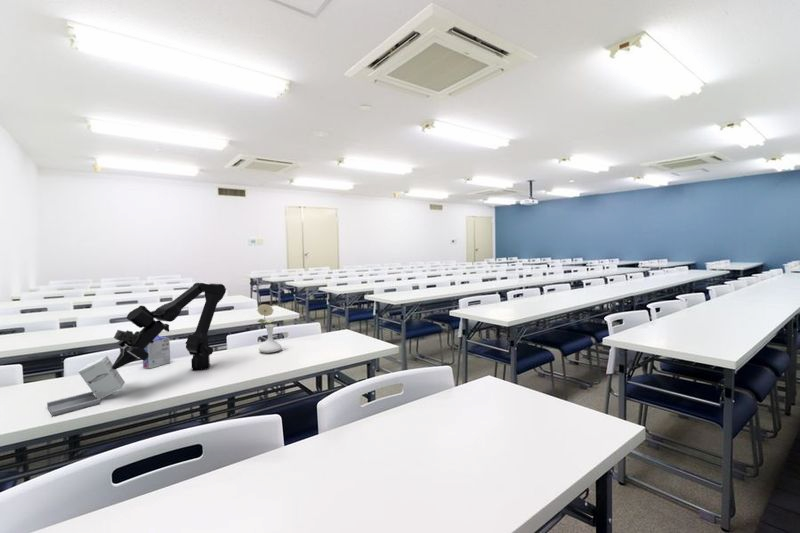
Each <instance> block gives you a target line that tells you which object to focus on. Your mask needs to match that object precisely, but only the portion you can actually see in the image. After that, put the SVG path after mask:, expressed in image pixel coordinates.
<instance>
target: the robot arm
mask: <svg viewBox="0 0 800 533" xmlns="http://www.w3.org/2000/svg"><path fill="white" fill-rule="evenodd" d="M226 291H227V288H226V286H225V285H224V284H222V283H205V282H195V283H193V285H192V286H191V287H189V288H188V289H186V290H185V291H184V292H183V293H182V294H180V295H179V296H177V297H176V298H175V299H174V300H172V301H170V302H167V303H165V304H162V305H161V306H158V307H157V308H156V309H155V310H152V311H150V310H149V308H147V307H146V306H145V305H139V306H138V307H137V308H134V309H132V310H131V311H130V312H129V313H128V314H127V315H126V319H127V320H128V321H129V322H131V323H132V324H134V325H135V326H136V327H138V328H140V329H141V330H140V331H137V330H136V331H135V332H134V333H133V331H130V330H128V329H127V330H126V331H124V330H122V329H121V330H120V329H117V331H116V332H115V334H114V336H113V339H114V340H117V342H116V344H117V345H118V346H119V355H118V357H117V358H116V359H115V361H114V363H112V364H113V366H112V369H114V370H115V369H116V370H118V369H119V368H122V367H124V366H126V365H128V364H130V363H132V362H134V361H137V360H139V359H141V360H142V361H143V360H144V361H145V360H146V359H147V358H148V357H149V353H147V352H146V351H145V350H144V349H145V348H146V347H147V346H148V345H149V344H150V343H153V342H154V341H153V340H154V339H155V338H156V337H157V336H158V335H159V336H160V334H161V333H162V332H163V331H165V332H167V333H168V332H170V324H168V323H164V322H169V323H170V322H174V321H175V320H176V319H177V318H178V316H179V315H180V314H181V312H182V310H183V309H184V308H185V307H186V306H188V305H189V304H190V303H191V302H192V301H194V300H195V299H196V298H197V297H198V296H200V295H201V294H202V293H204V298H205V302H204V305H203V309H202V311H201V315H200V317H199V320H198V323H197V325H196V328H195V331H194V332H193V333H192V334H188V336H187V339H186V341H185V348H186V350H187V351H188V353H189V355H190V356H192V357H191V361H190V362H191V370H192V371H193V372H194V371H200V370H209V368H210V367H211V363H210V362H211V360H210V358H211V357H210V355H212V354H213V353H214V348H212V347H211V346H210V345H209V335H208V333H209V330H210V326H211V325H212V324H211V323H212V321H213V318H214V314H215V312H216V308H217V306H218V303H219V302H221V301H222V299H223V298H224V296H225V294H226ZM155 319H156V320H155Z"/></svg>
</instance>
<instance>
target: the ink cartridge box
mask: <svg viewBox="0 0 800 533" xmlns="http://www.w3.org/2000/svg"><path fill="white" fill-rule="evenodd" d="M153 341H154V342H153V343H150V344H149V345H148V346H147V347H146V348H145V349H144V350H145V351H146V352H147V353H149V357H148V358H147V359H146V360H145V361H144V360H142V367H143V368H145V369H148V370H149V369H152V368H156V367H159V366H163V365H167V364H170V363H171V345H170V344H171V343H170V342H171V341H170V337H168V336H167V337H166V336H160V334H159V335H158V336H157V337H156V338H155V339H154V340H153Z"/></svg>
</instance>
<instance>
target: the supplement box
mask: <svg viewBox="0 0 800 533" xmlns="http://www.w3.org/2000/svg"><path fill="white" fill-rule="evenodd" d="M113 364H114V363H112V361H111V360H110V359H109V357H108V355H104V356H102V357H100V358H98V359H96V360H94V361H92V362H89V363H88V364H85V365H84V366H82V368H81V369H80V370H79V371H78V374H79V376H80V377H81V378H82V379H83V380H84V382H85V384H86V385H87V386H88V387H89V389H90V390H91V392H93V393H94V396H95V397H96V398H97V399H100V400H102V399H103V398H105V397H107V396H111V395H112V394H113V393H115V392H117V391H120V390H121V389H122V388H123V386H125V380H124V379H123V377H122V375H121V374H120V373H119V371H118V369H115V370H114V369H112V366H113Z"/></svg>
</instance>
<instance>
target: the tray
mask: <svg viewBox="0 0 800 533" xmlns="http://www.w3.org/2000/svg"><path fill="white" fill-rule="evenodd" d="M97 405H101V399H98V398H97V397H96V396H95V394H94V393H93V392H92V391H89V392H84V393H80V394H76V395H73V396H72V395H71V396H69V397H64V398H60V399H56V400H52V401H47V402H46V408H47V410H48V411H49V412H50V415H51V416H54V417H56V416H60V415H64V414H67V413H72V412H76V411H79V410H82V409H87V408H91V407H94V406H97Z"/></svg>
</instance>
